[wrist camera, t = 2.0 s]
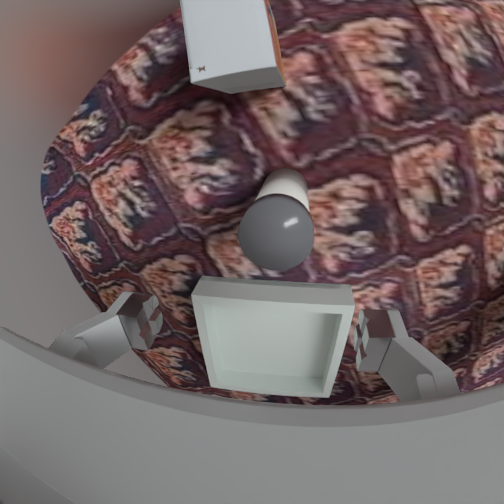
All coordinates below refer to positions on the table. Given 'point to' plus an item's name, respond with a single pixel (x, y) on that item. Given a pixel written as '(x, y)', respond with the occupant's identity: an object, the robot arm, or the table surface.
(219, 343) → the tray
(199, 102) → the table surface
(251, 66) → the small box
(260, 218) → the shaker
